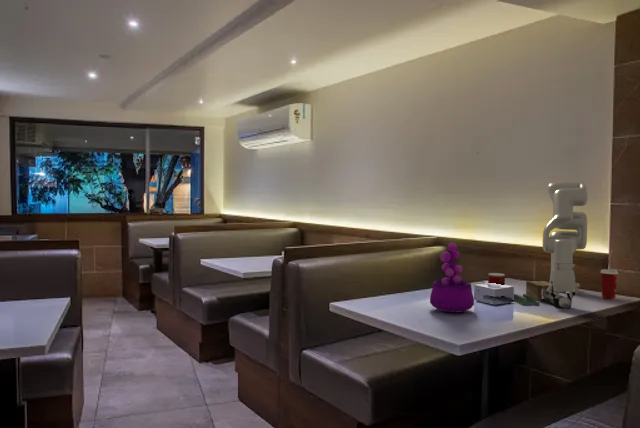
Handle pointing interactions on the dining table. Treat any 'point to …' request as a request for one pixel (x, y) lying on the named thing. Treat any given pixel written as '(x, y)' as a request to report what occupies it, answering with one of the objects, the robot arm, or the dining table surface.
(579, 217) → the robot arm
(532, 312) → the dining table surface
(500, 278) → the canned food
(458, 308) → the decorative plant
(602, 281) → the paper cup
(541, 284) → the wooden box
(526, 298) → the cradle
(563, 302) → the grey oblong lump
